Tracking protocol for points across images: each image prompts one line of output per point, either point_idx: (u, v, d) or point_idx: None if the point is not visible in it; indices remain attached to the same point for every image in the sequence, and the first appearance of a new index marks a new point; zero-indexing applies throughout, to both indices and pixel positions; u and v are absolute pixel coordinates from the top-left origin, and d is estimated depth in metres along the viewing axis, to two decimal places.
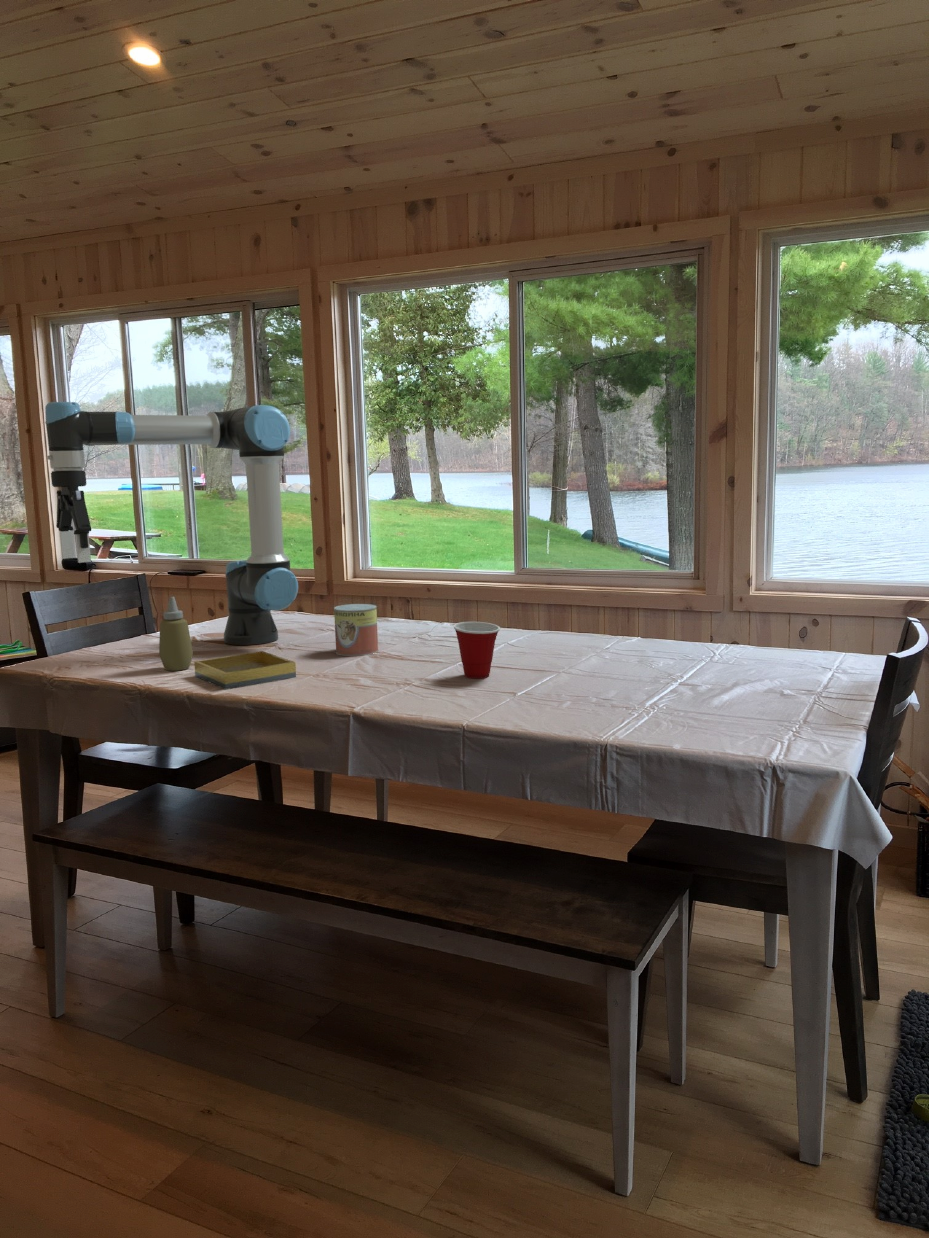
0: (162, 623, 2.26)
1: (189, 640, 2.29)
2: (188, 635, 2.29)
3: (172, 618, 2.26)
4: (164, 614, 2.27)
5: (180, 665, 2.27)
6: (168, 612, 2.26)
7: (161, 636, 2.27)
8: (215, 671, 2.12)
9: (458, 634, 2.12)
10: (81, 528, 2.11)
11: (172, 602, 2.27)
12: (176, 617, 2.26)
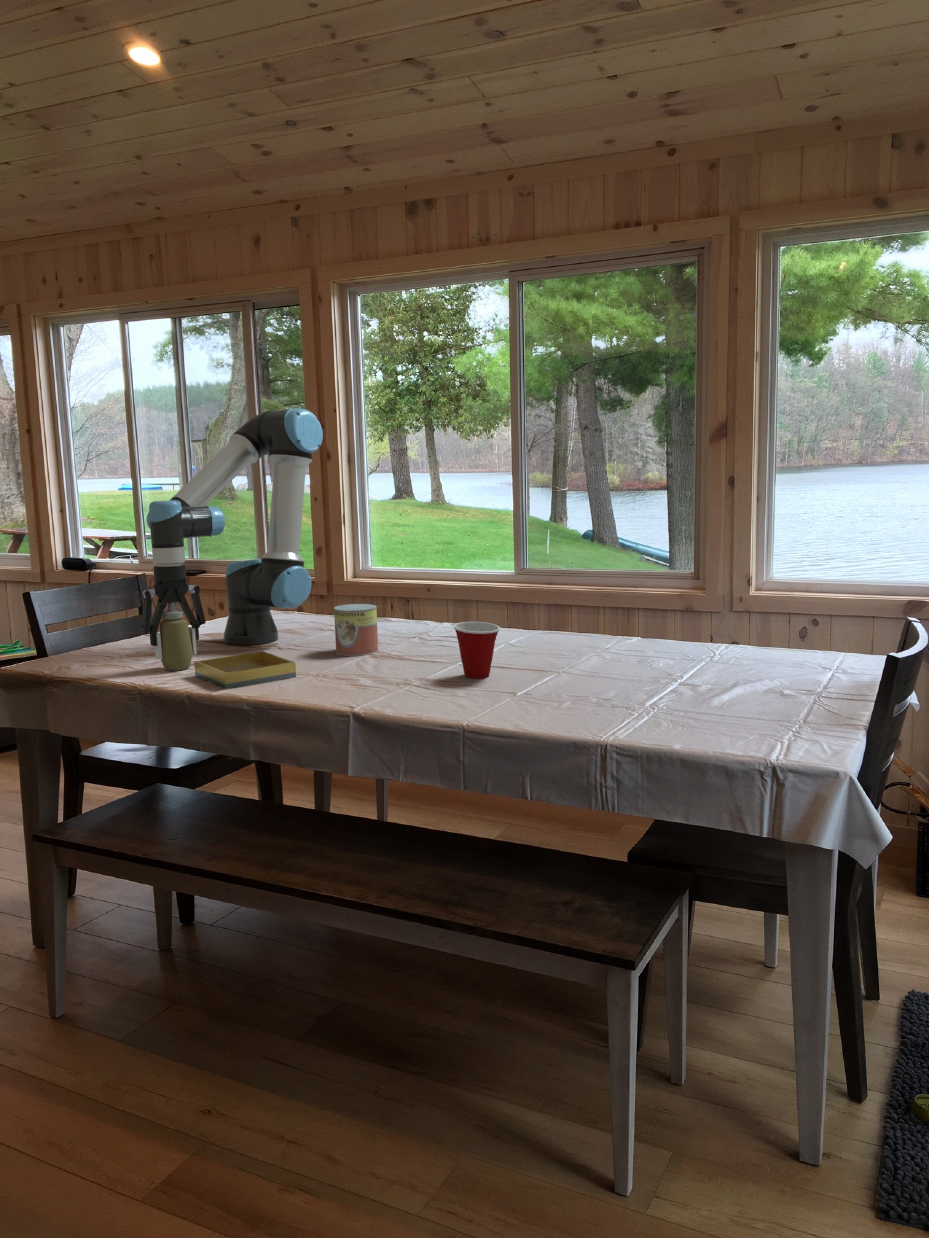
0: (162, 623, 2.26)
1: (189, 640, 2.29)
2: (188, 635, 2.29)
3: (172, 618, 2.26)
4: (164, 614, 2.27)
5: (180, 665, 2.27)
6: (168, 612, 2.26)
7: (161, 636, 2.27)
8: (215, 671, 2.12)
9: (458, 634, 2.12)
10: (141, 627, 2.25)
11: (172, 602, 2.27)
12: (176, 617, 2.26)
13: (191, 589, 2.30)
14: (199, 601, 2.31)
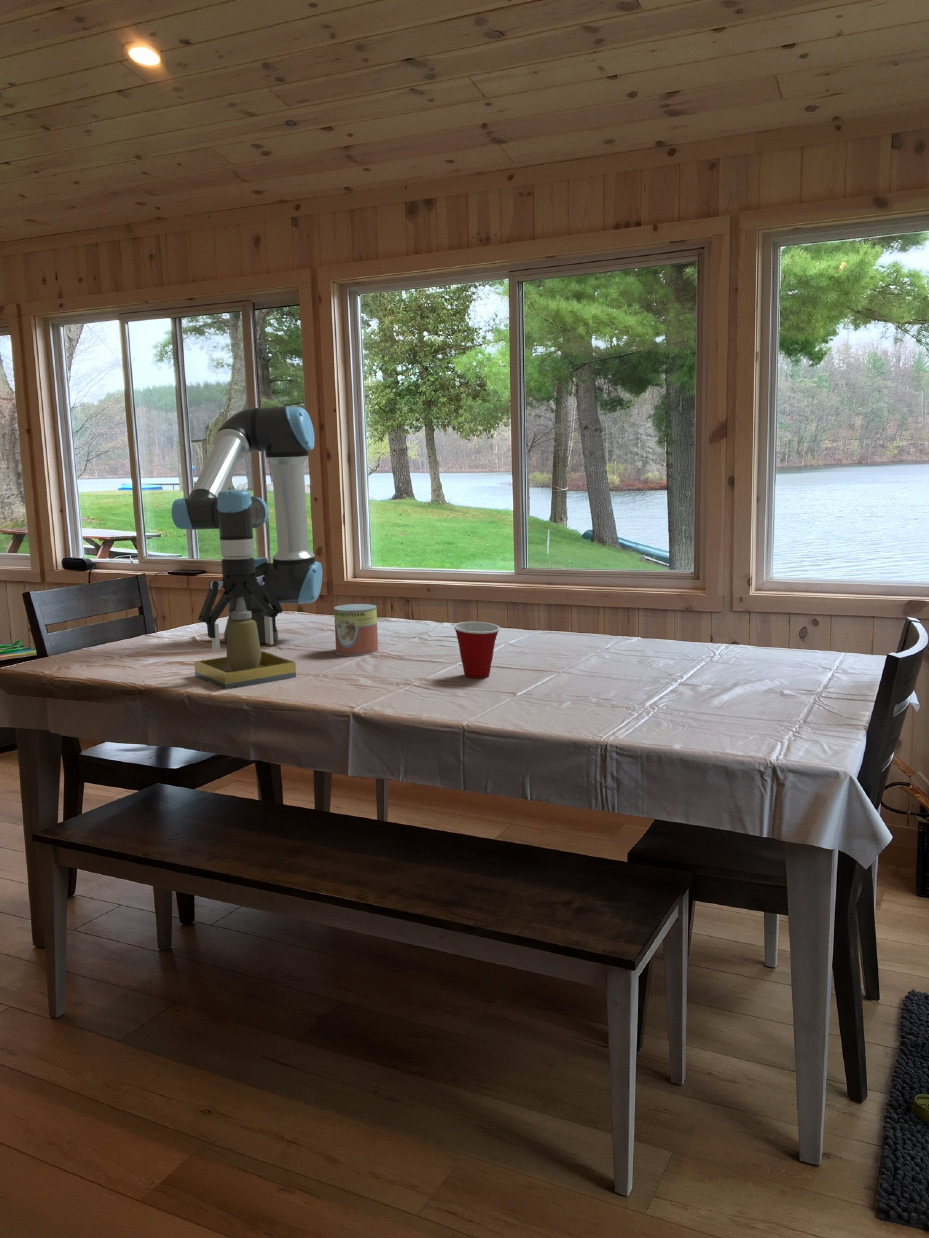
0: (230, 623, 2.16)
1: (258, 641, 2.19)
2: (257, 636, 2.18)
3: (241, 618, 2.16)
4: (233, 614, 2.16)
5: (249, 668, 2.17)
6: (237, 612, 2.16)
7: (229, 637, 2.16)
8: (215, 671, 2.12)
9: (458, 634, 2.12)
10: (198, 618, 2.12)
11: (241, 601, 2.17)
12: (245, 617, 2.16)
13: (260, 581, 2.19)
14: (271, 591, 2.20)
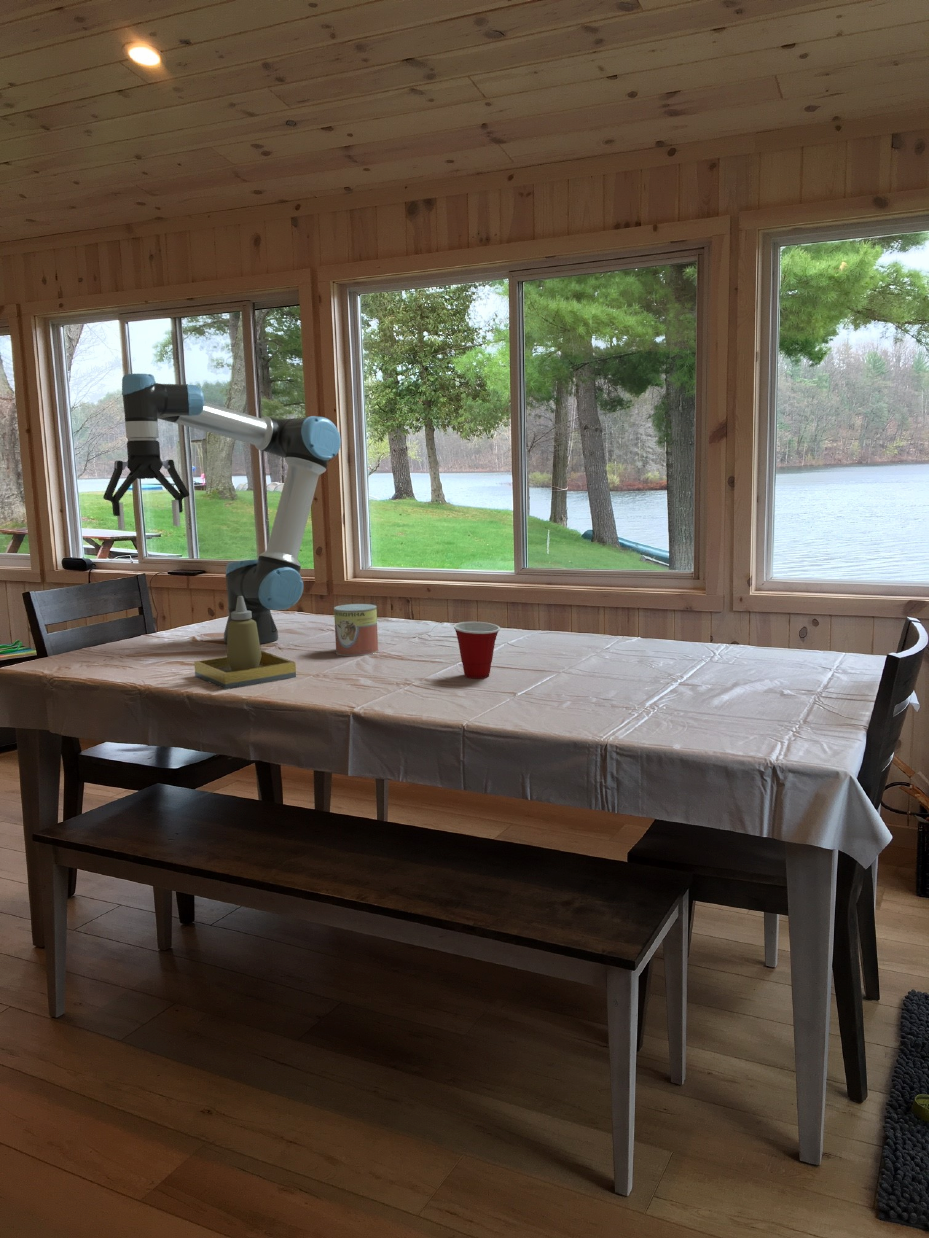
0: (230, 624, 2.16)
1: (258, 641, 2.19)
2: (257, 636, 2.18)
3: (241, 618, 2.16)
4: (232, 614, 2.16)
5: (249, 668, 2.17)
6: (237, 612, 2.16)
7: (229, 637, 2.16)
8: (215, 671, 2.12)
9: (458, 634, 2.12)
10: (103, 496, 2.21)
11: (241, 602, 2.16)
12: (245, 617, 2.16)
13: (166, 464, 2.28)
14: (177, 474, 2.29)
